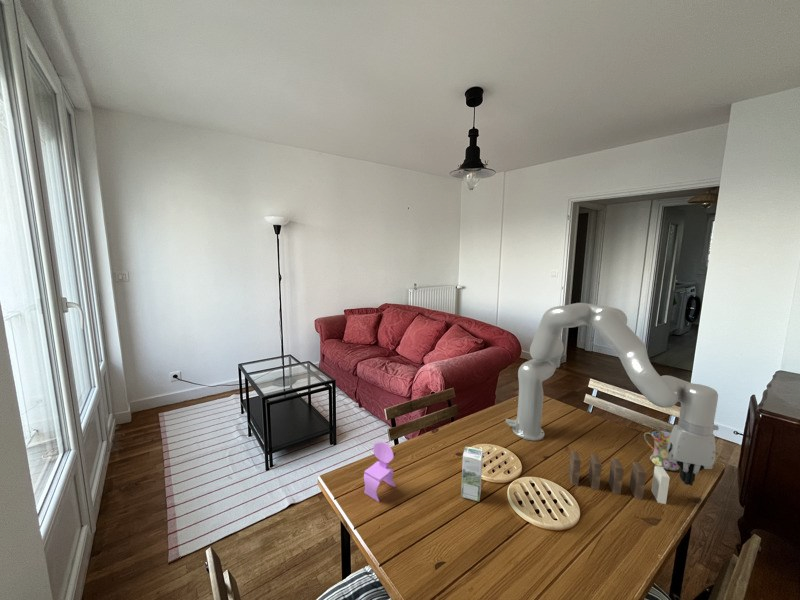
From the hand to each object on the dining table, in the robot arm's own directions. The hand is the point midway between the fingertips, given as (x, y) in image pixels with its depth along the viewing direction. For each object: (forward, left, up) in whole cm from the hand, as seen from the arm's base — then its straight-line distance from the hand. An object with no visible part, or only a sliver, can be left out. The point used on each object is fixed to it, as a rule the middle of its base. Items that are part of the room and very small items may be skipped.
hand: (686, 481), depth 99 cm
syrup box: (-62, -18, -7) cm, 65 cm away
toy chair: (-90, -26, -7) cm, 94 cm away
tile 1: (-12, 0, -7) cm, 14 cm away
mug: (+2, +21, -7) cm, 22 cm away
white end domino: (-6, 0, -7) cm, 9 cm away
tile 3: (-24, 0, -7) cm, 25 cm away
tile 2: (-18, 0, -7) cm, 20 cm away
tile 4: (-30, 0, -7) cm, 31 cm away
